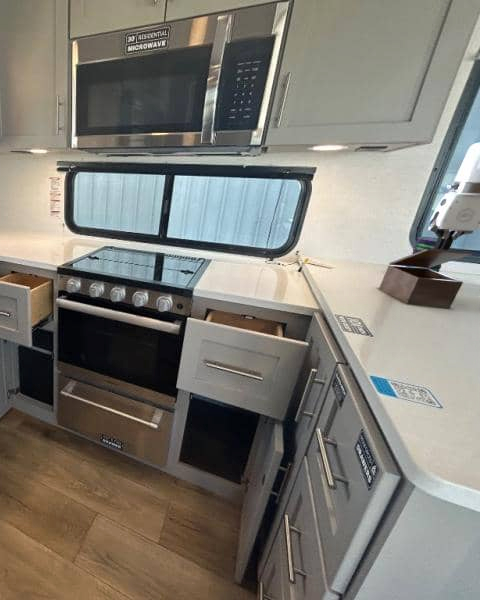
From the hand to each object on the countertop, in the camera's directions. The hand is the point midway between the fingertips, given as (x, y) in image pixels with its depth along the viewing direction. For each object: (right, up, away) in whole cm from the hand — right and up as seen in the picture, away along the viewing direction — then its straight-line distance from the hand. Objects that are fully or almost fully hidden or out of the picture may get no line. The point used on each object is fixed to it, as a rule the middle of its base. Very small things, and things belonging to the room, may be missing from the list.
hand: (439, 251), depth 102 cm
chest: (0, -14, +8) cm, 17 cm away
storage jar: (+28, -5, +33) cm, 44 cm away
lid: (0, -2, +4) cm, 5 cm away
